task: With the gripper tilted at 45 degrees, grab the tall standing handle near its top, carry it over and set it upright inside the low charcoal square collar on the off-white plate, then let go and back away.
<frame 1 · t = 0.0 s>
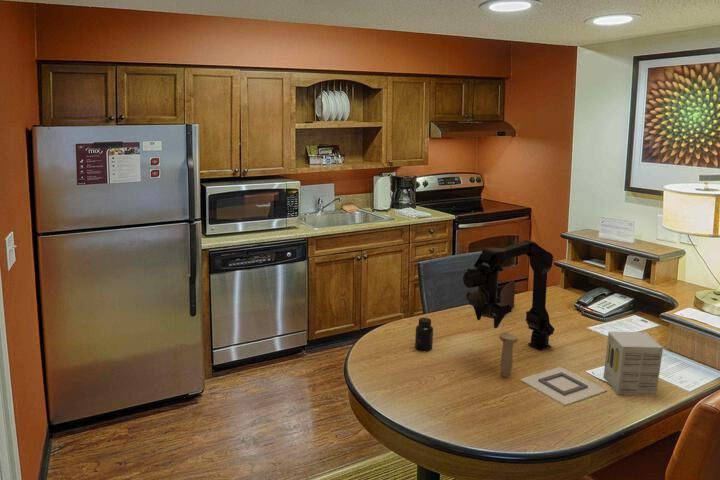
hand: (487, 324, 216), 15 cm above the table, tool pointing down, fingers open, 9 cm apart
letter holder: (496, 312, 271), on the table
supplement box: (628, 386, 201), on the table
handle: (505, 376, 208), on the table
supplement bottle: (423, 348, 230), on the table
socket plate: (562, 385, 201), on the table
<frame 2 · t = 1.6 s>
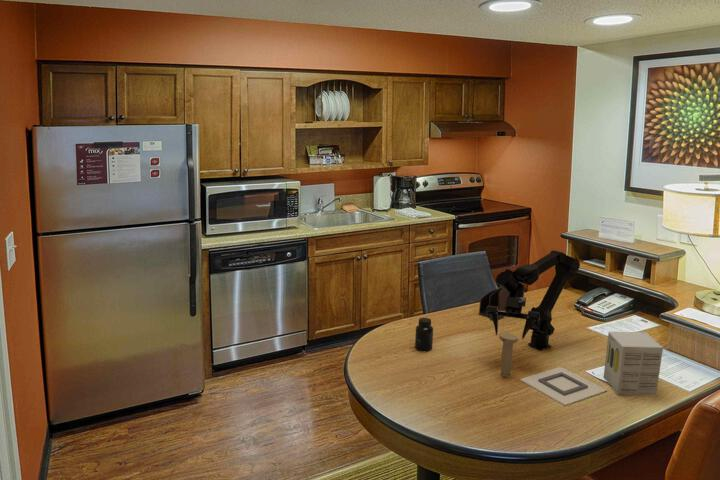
hand: (509, 336, 209), 13 cm above the table, tool tilted 45°, fingers open, 9 cm apart
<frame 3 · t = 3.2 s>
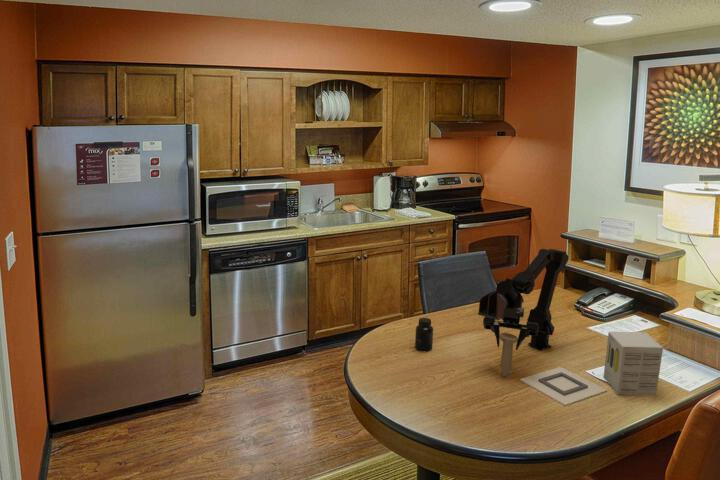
hand: (507, 348, 204), 11 cm above the table, tool tilted 45°, fingers closed on handle, 6 cm apart
handle: (505, 376, 208), on the table, touching gripper
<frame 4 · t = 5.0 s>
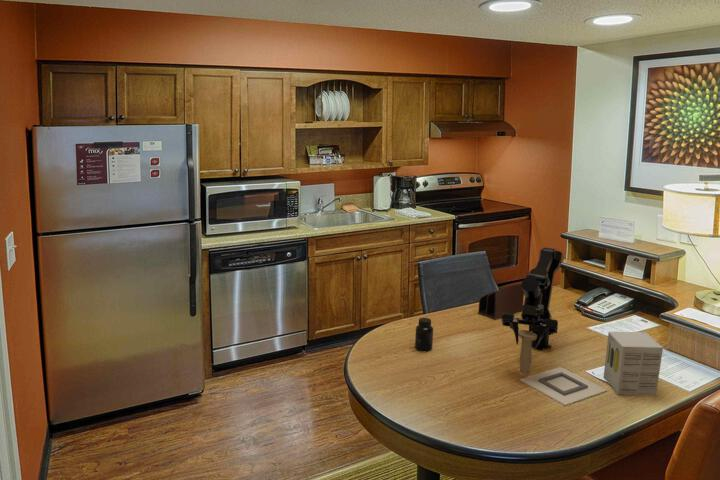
hand: (526, 345, 201), 13 cm above the table, tool tilted 45°, fingers closed on handle, 6 cm apart
handle: (524, 373, 205), point 2 cm above the table, touching gripper
when the fingers open (12 cm above the table, at t = 6.9 s): handle stays where it is, resting on socket plate.
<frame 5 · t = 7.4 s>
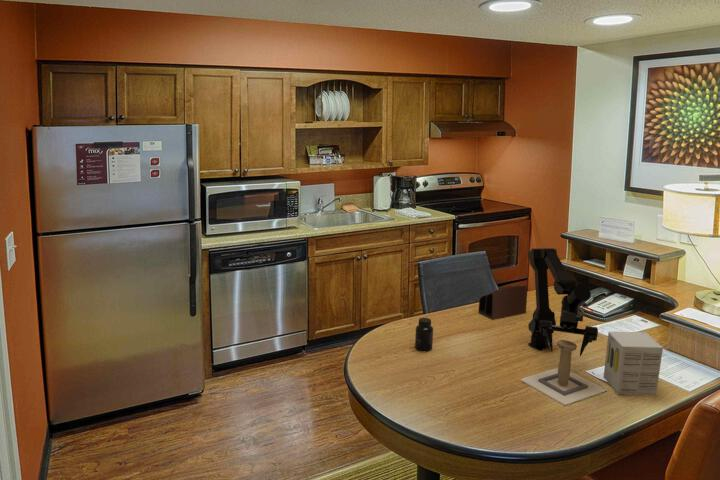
hand: (565, 353, 196), 13 cm above the table, tool tilted 45°, fingers open, 9 cm apart
handle: (562, 384, 201), resting on socket plate
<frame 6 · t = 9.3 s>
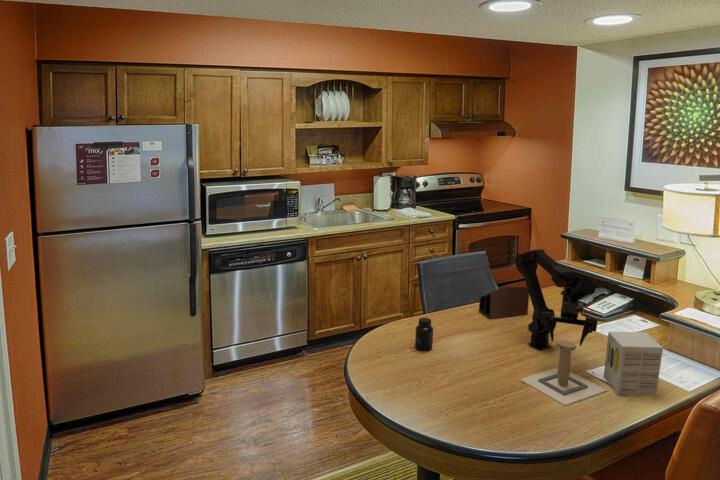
hand: (566, 343, 204), 13 cm above the table, tool tilted 45°, fingers open, 9 cm apart
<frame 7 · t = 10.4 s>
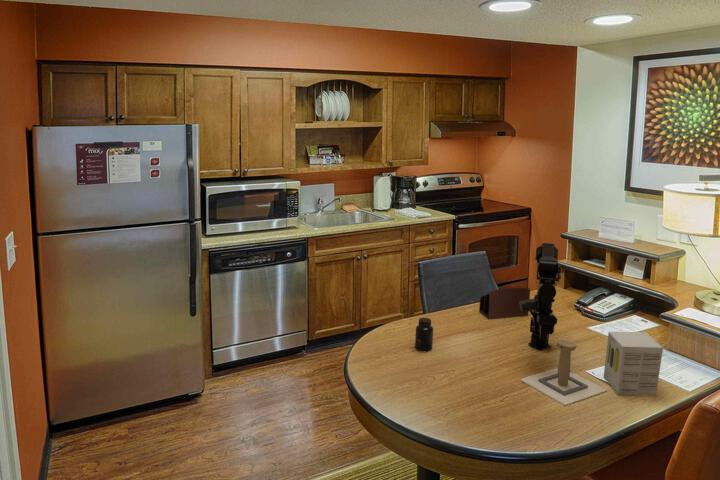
hand: (538, 335, 213), 12 cm above the table, tool pointing down, fingers open, 9 cm apart
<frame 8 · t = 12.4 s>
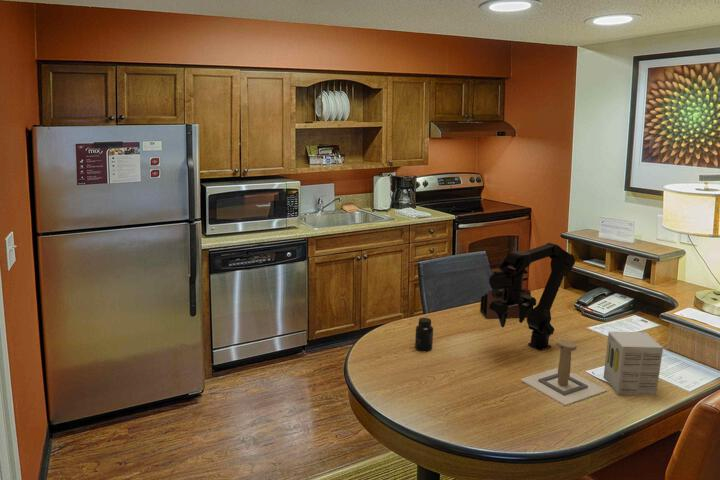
hand: (511, 324, 222), 12 cm above the table, tool pointing down, fingers open, 9 cm apart
at the end: handle 0.1 cm off-centre on the socket plate, point 0.3 cm above the socket plate's base; handle tilted 0°; the gripper is holding nothing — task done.
